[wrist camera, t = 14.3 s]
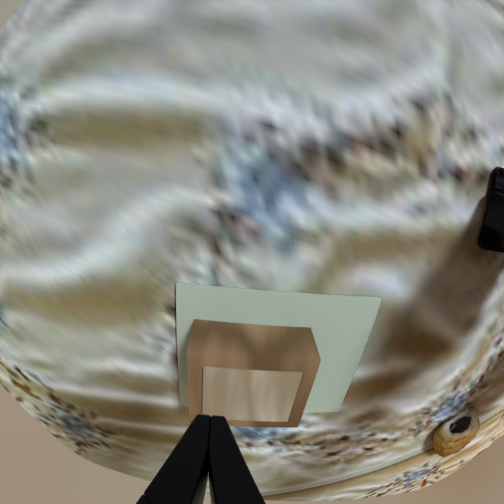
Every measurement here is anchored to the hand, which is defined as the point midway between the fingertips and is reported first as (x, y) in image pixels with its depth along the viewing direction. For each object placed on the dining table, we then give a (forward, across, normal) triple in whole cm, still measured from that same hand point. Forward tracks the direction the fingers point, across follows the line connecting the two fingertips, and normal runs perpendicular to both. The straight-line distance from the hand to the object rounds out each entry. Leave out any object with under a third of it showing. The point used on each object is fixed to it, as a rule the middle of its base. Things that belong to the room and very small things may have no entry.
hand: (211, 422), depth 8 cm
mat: (+12, -4, +8) cm, 15 cm away
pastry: (+12, -30, +22) cm, 40 cm away
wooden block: (+10, -6, +8) cm, 14 cm away
